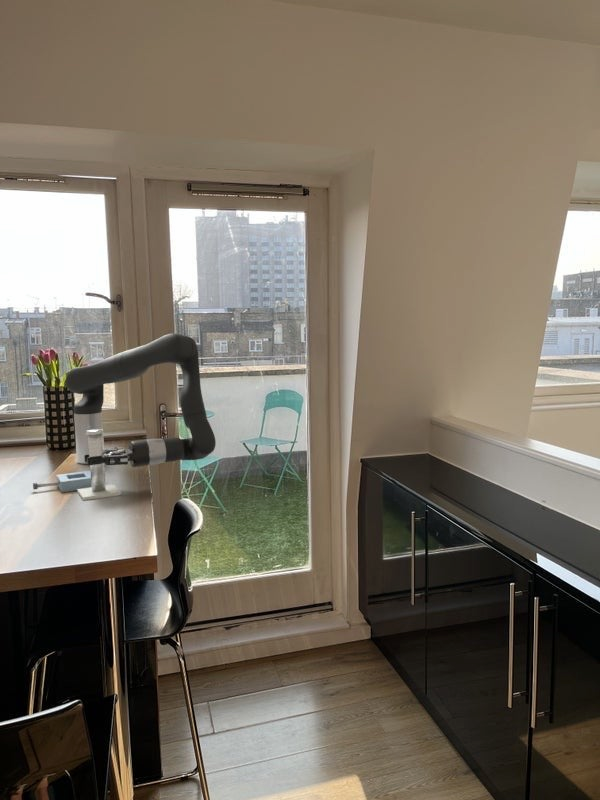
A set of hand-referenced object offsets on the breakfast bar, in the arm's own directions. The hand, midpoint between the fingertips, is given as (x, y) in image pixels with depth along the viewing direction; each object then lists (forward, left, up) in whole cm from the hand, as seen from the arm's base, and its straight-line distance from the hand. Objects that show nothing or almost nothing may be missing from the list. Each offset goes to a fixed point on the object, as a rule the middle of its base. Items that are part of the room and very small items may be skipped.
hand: (86, 459), depth 172 cm
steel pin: (0, +3, -9) cm, 9 cm away
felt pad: (0, +3, -10) cm, 10 cm away
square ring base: (-12, -5, -10) cm, 16 cm away
